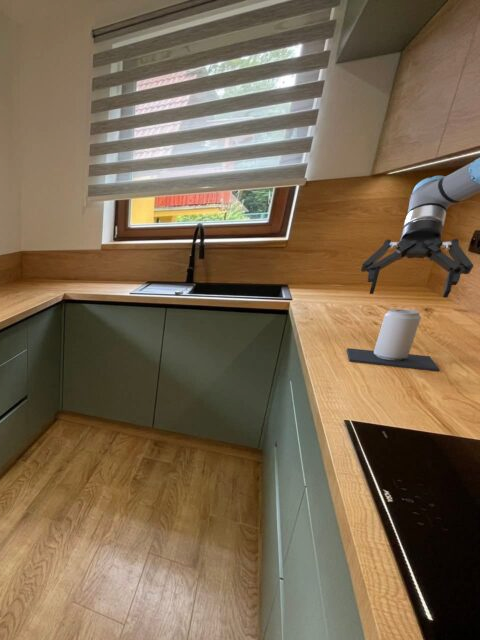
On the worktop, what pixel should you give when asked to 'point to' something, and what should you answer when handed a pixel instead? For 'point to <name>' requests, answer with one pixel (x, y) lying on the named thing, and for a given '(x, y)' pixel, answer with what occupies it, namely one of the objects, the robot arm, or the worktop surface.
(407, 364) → the mat
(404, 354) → the beverage can
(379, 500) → the worktop surface
